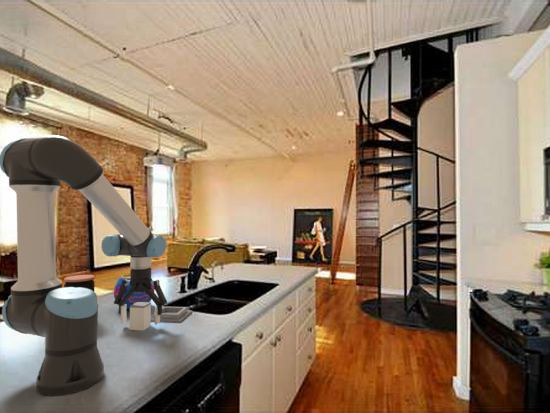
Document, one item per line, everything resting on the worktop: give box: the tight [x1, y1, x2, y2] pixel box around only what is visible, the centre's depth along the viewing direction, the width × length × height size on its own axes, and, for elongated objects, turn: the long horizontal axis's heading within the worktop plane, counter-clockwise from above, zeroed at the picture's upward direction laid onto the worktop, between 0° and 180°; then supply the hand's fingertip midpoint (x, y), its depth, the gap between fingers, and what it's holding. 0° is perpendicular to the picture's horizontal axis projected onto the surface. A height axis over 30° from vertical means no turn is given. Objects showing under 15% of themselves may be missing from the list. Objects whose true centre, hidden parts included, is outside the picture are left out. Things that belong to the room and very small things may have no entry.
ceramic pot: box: [113, 273, 155, 310], centre depth 153 cm, size 18×18×15 cm
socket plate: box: [151, 306, 193, 324], centre depth 140 cm, size 14×14×3 cm
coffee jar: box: [63, 274, 95, 292], centre depth 133 cm, size 11×11×18 cm
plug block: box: [129, 301, 152, 331], centre depth 127 cm, size 6×6×9 cm
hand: (140, 322), depth 127 cm, fingers open, 13 cm apart
